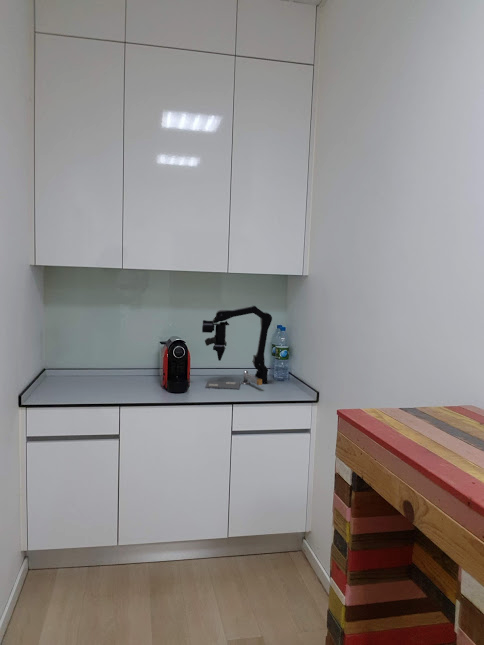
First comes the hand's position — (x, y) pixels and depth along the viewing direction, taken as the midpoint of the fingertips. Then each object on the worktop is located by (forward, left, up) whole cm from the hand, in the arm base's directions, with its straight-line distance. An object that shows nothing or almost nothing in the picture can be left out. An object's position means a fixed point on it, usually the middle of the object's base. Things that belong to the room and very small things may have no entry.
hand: (219, 360), depth 279 cm
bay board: (-3, +9, -12) cm, 15 cm away
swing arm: (-19, +8, -11) cm, 23 cm away
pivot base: (-15, +1, -12) cm, 19 cm away
